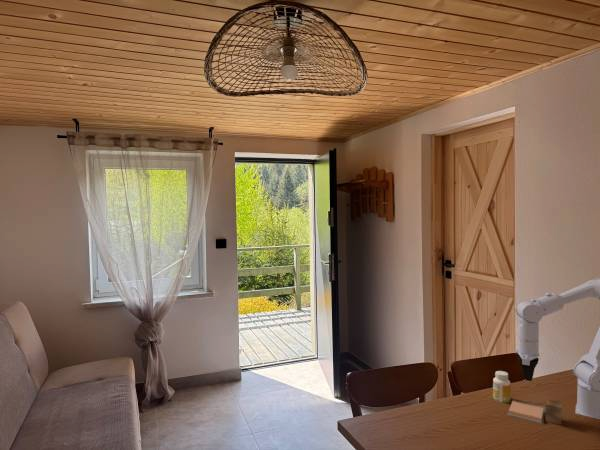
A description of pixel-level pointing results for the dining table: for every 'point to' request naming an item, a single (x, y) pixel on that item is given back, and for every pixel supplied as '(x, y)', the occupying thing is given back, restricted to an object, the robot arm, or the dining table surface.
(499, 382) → the supplement bottle
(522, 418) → the mat
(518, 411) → the tile
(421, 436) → the dining table surface
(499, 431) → the dining table surface
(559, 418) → the block
